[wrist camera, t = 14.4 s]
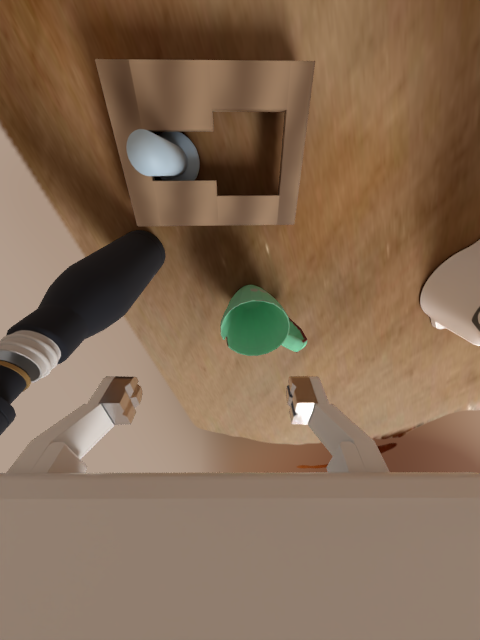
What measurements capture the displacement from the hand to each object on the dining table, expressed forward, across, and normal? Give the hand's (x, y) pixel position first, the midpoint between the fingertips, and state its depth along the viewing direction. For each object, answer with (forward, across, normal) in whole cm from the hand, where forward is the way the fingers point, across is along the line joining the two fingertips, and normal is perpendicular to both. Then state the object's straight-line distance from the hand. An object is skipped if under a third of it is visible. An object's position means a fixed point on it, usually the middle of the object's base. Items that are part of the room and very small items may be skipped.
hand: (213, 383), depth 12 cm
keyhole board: (+26, +2, -10) cm, 28 cm away
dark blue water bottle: (+26, +13, +1) cm, 29 cm away
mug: (+26, -5, +10) cm, 29 cm away
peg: (+26, +6, -10) cm, 29 cm away
